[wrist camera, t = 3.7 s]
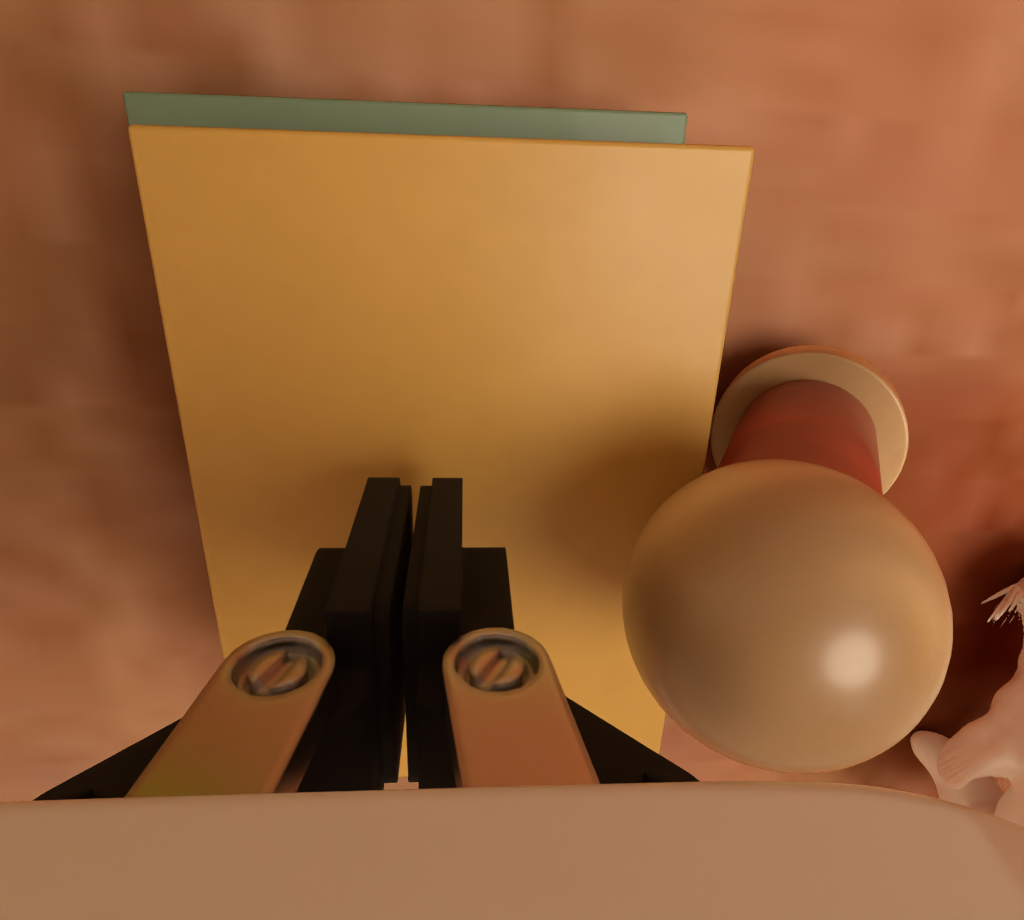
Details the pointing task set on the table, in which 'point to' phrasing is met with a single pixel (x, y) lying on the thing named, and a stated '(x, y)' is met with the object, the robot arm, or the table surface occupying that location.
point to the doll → (793, 575)
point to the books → (441, 340)
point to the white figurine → (984, 743)
